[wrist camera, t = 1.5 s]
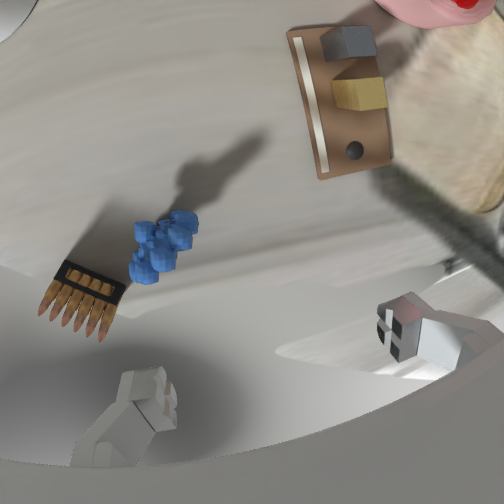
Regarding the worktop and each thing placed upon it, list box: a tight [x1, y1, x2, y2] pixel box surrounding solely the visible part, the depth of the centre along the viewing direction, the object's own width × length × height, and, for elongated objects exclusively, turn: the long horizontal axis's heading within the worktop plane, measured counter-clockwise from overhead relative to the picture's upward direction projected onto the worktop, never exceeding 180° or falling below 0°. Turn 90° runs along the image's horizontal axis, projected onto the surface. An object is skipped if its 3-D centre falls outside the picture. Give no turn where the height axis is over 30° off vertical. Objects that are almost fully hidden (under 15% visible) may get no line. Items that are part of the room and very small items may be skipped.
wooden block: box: [331, 77, 388, 111], centre depth 30 cm, size 4×4×7 cm
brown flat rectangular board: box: [286, 26, 391, 180], centre depth 35 cm, size 20×11×1 cm, turn 14°
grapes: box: [129, 210, 199, 285], centre depth 35 cm, size 12×7×12 cm, turn 131°
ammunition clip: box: [38, 260, 126, 342], centre depth 38 cm, size 11×2×12 cm, turn 61°
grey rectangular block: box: [319, 26, 377, 62], centre depth 28 cm, size 4×4×7 cm
